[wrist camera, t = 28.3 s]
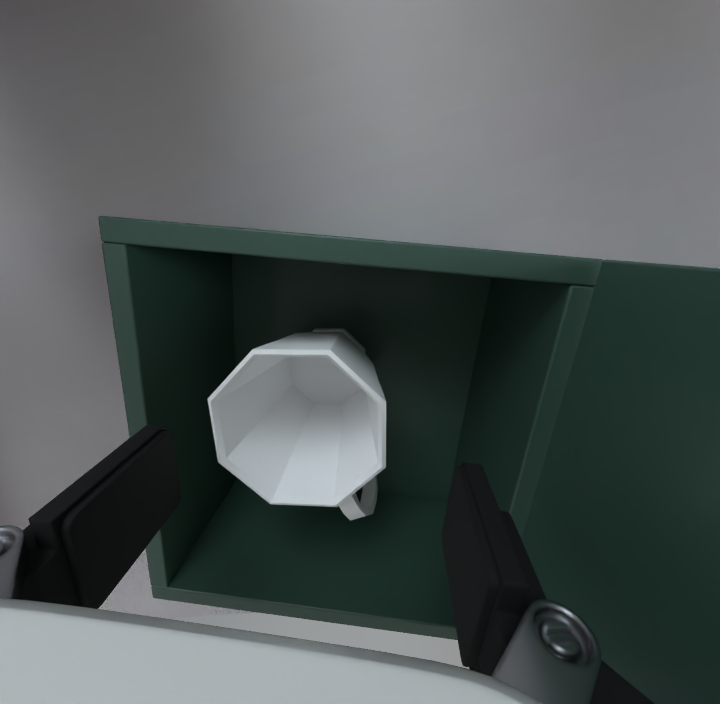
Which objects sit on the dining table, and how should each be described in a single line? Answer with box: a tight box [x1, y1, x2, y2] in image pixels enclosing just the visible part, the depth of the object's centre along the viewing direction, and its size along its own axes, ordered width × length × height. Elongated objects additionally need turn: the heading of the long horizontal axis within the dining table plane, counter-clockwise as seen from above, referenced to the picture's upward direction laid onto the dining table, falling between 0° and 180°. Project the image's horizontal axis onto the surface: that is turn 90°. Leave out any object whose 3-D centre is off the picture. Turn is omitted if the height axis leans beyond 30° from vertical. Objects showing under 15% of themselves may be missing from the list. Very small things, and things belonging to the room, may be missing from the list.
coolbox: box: [98, 216, 604, 640], centre depth 17 cm, size 16×17×9 cm
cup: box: [207, 328, 386, 521], centre depth 17 cm, size 7×10×8 cm
